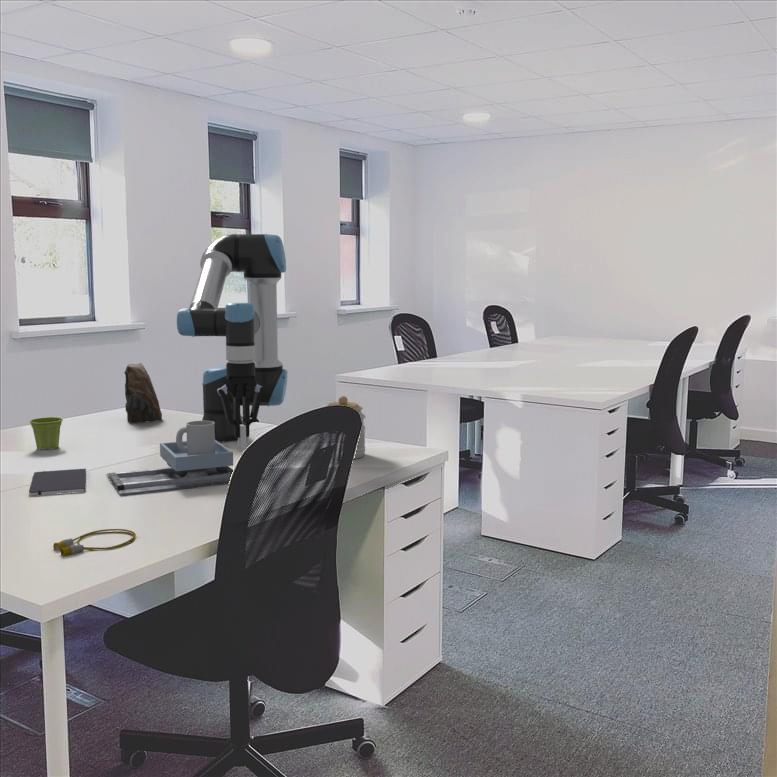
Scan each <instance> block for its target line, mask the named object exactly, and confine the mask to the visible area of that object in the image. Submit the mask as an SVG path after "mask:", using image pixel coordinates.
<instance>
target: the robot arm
mask: <svg viewBox="0 0 777 777" xmlns="http://www.w3.org/2000/svg"><path fill="white" fill-rule="evenodd" d="M199 264H200V265H199V266H200V269H201V270H200V272H199V277H198V278H197V283H196V286H195V289H194V291H193V295H192V298H191V301H190V304H189V307H185V308H181V309H179V310H178V311H177V314H176V328H177V332H178V334H179V335H180V336H183V337H192V338H194V337H225V355H226V356H225V360H226V361H228V362H226V365H220V366H214V367H210V368H207V369H205V370H204V371H203V374H202V384H201V385H202V401H203V405H202V406H203V414H202V415H203V417H202V419H201V421H213V422H215V440H216V441H218V442H219V443H226V442H227V443H228V442H229V443H230V442H237V449H238V450H240V451H246V450H247V438H249V437H250V426H251V424H253V423H254V424H255V423H256V422H257V419H258V414H259V410H260V407H261V406H262V407H264V406H265V407H266V406H267V407H270V406H271V407H273V406H274V407H276V406H281V405H282V404H283V402H284V401H285V397H286V391H287V385H288V374H289V373H288V372H289V371H288V369H285V368H284V365H283V362H282V361H280V359H279V356H278V354H279V353H278V346H279V344H278V300H277V298H278V297H277V296H278V294H277V288H278V287H277V284H278V283H279V281H280V280H281V279H282V273H283V274H284V273H286V271H287V261H286V254H285V248H284V244H283V240H282V238H281V237H280V236H279V235H277V234H268V233H263V234H262V233H260V234H256V233H255V234H253V233H252V234H251V233H249V234H246V233H245V234H244V233H240V234H238V233H230V234H226V235H224V236H221V237H220V238H218V239H216V240H215V241H213V242H212V243H211V244H210V245H209V246H207V248H206V249H205V250H204V252H203V253H202V256H201V259H200V262H199ZM233 272H234V273H236V272H237V273H243V279H244V280H245V281H246V282H247V284H248V296H249V297H248V298H249V300H248V301H249V302H228V303H226V305H225V308H219V303H220V300H221V298H222V293H223V290H224V286H225V282H226V279H227V278H228V276H229V275H230V274H231V273H233ZM241 407H242V415H241ZM250 408H251V409H250ZM245 449H246V450H245Z"/></svg>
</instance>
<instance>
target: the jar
mask: <svg viewBox="0 0 777 777" xmlns="http://www.w3.org/2000/svg"><path fill="white" fill-rule="evenodd" d="M332 405H343V406H348V407H351V408H353V409H355V410H356V411H357V412H358V413H359V414H360V416H361V420H362V427H361V433H360V438H359V441H358V445H357V450H356V454H355V459H354V460H356V459H360V458H364V456H365V452H366V445H365V444H366V439H365V436H366V431H365V430H366V426H365V423H364V420H365V418H366V415H365V414H364V413H363V412H362V410H363V407H362V406H361V405H359V404H358V403H356V402H351V401H348V397H346V396H343V395H341V396H339V398H338V401H335V402H329V403H328V404H327V405H326V406H332Z"/></svg>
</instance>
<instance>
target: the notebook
mask: <svg viewBox="0 0 777 777" xmlns="http://www.w3.org/2000/svg"><path fill="white" fill-rule="evenodd" d="M86 476H87V469H86V468H76V469H74V468H73V469H62V470H59V469H58V470H47V471H45V470H42V471H35V472H34V473H33V475H32V479H31V482H30V486H29V489H28V493H29V496H30V495H41V496H44V495H43V494H52V495H60V494H59V493H65V494H73V493H72V492H78V493H86V485H85V484H86V482H87V481H86V480H87V479H86ZM69 492H70V493H69ZM57 493H58V494H57Z"/></svg>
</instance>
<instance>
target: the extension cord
mask: <svg viewBox="0 0 777 777" xmlns="http://www.w3.org/2000/svg"><path fill="white" fill-rule="evenodd" d="M115 532H116V534H128V535H130V536H132V537H131V538H130V539H128V540H127V541H125V542H122V543H120V544H117V545H112V546H107V547H97V546H96V547H94V546H93V547H90V546H89V547H86V546H84V545H83V544H80V542H81V541H82V539H84V538H86V537H88V536H92V535H98V534H112V533H113V534H115ZM136 537H137V536H136V533H135V531H133V530H131V529H129V530H128V529H123V528H108V529H100V530H94V531H91V532H87V533H84V534H82V535H80V536H77V537H75V538H73V539H72V538H67V539H62V540H61V541H58V542H54V543H53V550H55V551H60V556H62V557H66V556H71V555H75V554H79V553H81V552H83V551H85V550H87V551H90V552H97V551H98V552H99V550H115V549H117V548H122V547H124V546H127V545H128V544H131V543H133V541H135V538H136ZM75 541H77V542H76V543H77V544H74V542H75ZM71 544H72V545H71Z"/></svg>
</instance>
